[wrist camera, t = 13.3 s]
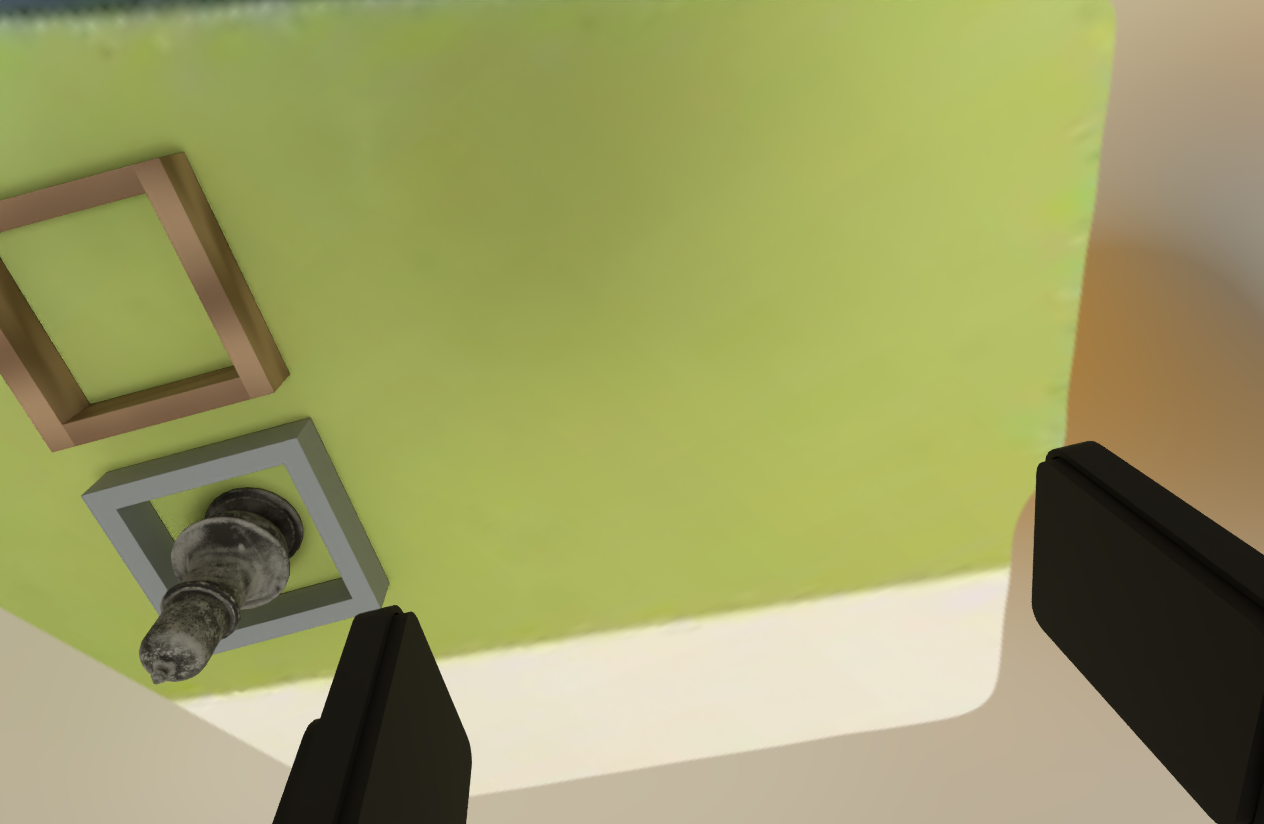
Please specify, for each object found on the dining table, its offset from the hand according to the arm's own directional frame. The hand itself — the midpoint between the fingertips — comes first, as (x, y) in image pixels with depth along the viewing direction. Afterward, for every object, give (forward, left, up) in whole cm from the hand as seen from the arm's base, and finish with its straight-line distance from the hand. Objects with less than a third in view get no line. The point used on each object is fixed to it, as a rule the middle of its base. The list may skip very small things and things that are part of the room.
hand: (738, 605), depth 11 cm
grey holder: (+11, -23, -30) cm, 40 cm away
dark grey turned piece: (+11, -23, -30) cm, 40 cm away
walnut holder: (-3, -23, -30) cm, 38 cm away
